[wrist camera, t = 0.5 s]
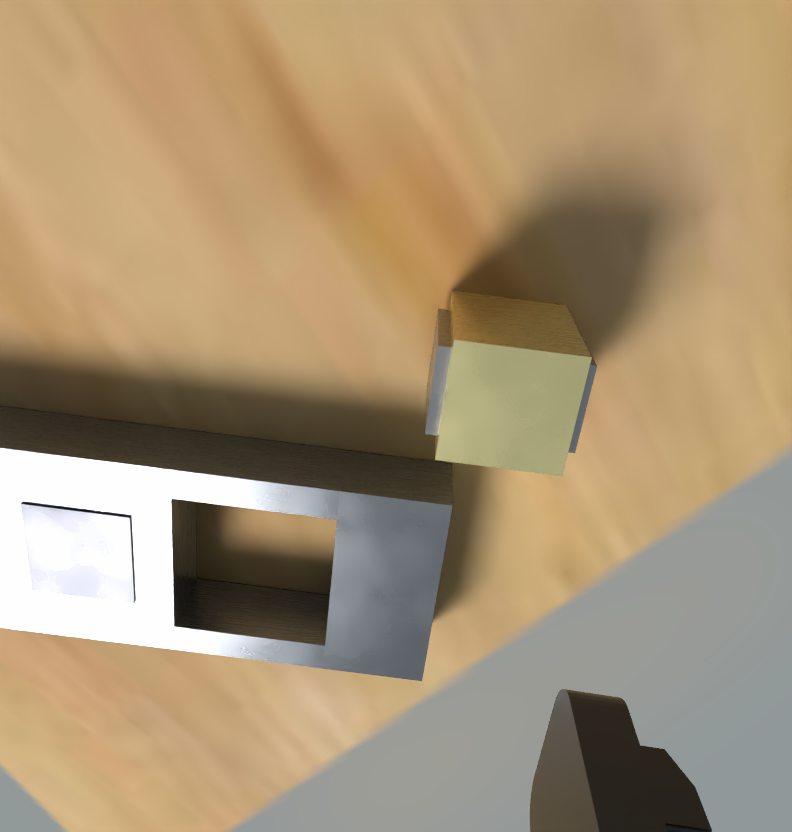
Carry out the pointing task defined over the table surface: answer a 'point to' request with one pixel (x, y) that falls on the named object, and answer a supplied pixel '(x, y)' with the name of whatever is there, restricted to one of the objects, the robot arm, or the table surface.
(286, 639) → the silver slotted board
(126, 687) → the table surface
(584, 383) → the brushed gold cube
